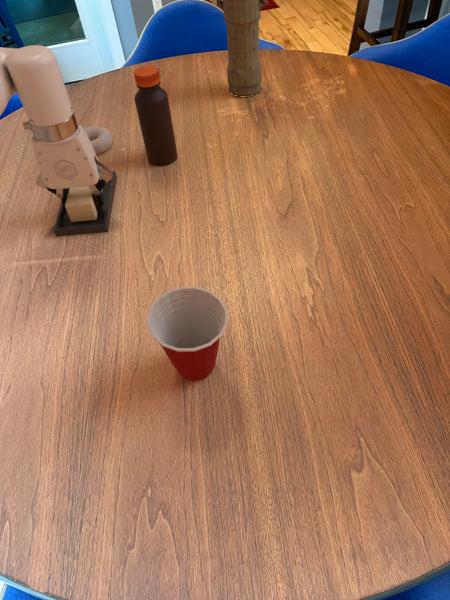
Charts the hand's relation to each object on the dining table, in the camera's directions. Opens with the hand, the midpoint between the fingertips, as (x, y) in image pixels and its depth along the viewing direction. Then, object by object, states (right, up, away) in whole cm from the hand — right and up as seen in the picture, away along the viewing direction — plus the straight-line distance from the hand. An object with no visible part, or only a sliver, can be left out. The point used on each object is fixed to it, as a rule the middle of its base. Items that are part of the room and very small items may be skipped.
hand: (85, 208), depth 96 cm
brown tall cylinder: (+33, +38, +32) cm, 59 cm away
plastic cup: (+24, -28, -24) cm, 44 cm away
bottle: (+14, +13, +12) cm, 23 cm away
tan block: (0, 0, 0) cm, 0 cm away
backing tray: (0, +1, +3) cm, 3 cm away
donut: (-3, +18, +18) cm, 26 cm away
